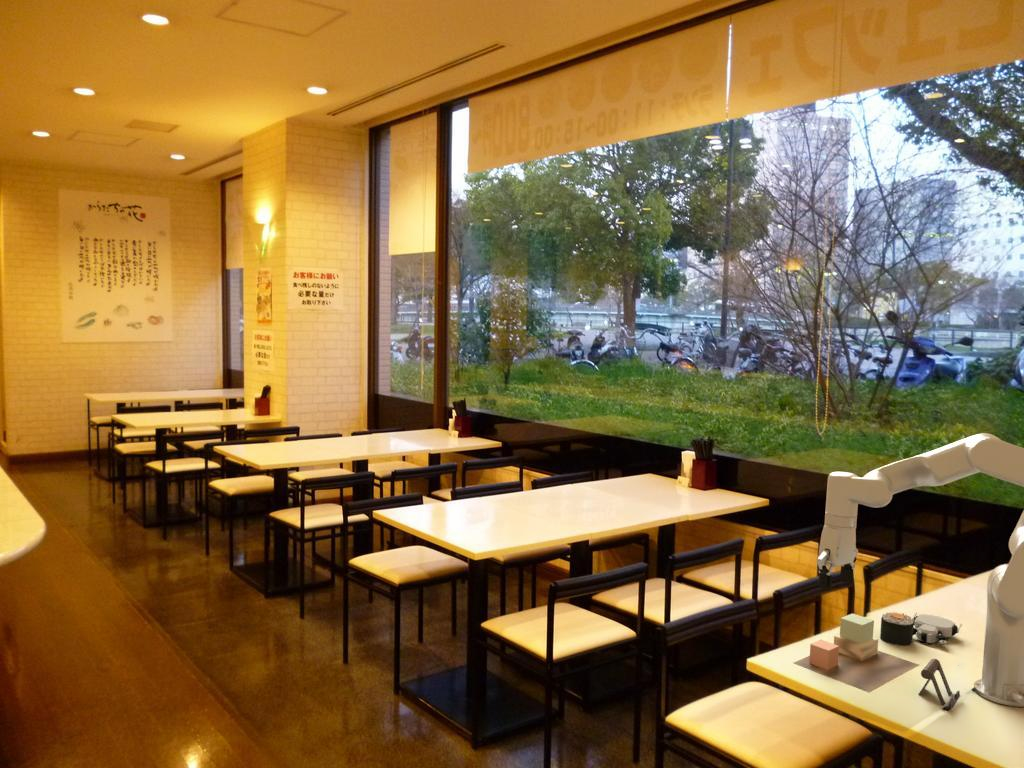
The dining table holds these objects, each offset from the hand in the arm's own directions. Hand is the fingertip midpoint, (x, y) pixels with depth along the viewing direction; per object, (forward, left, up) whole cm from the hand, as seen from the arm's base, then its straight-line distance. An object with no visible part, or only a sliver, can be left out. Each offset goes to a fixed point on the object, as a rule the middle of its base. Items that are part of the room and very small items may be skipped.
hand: (835, 585), depth 207 cm
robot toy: (+20, -36, -21) cm, 46 cm away
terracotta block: (-3, +3, -20) cm, 20 cm away
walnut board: (-2, -6, -21) cm, 22 cm away
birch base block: (+6, -9, -20) cm, 22 cm away
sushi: (+15, -24, -21) cm, 35 cm away
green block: (+6, -9, -16) cm, 19 cm away
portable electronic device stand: (-19, -18, -21) cm, 33 cm away
